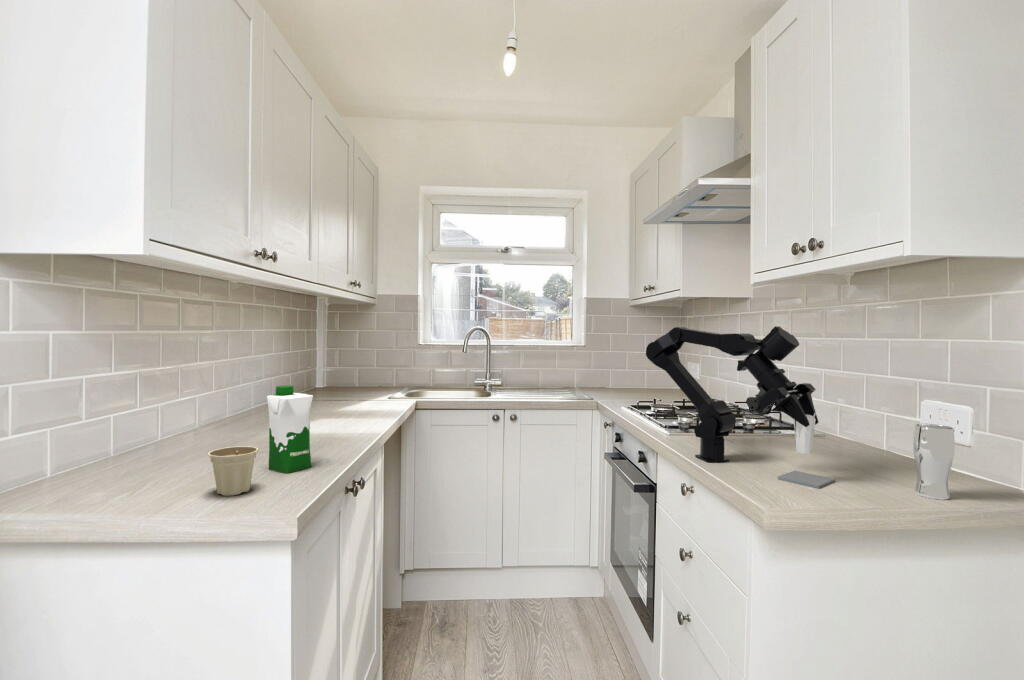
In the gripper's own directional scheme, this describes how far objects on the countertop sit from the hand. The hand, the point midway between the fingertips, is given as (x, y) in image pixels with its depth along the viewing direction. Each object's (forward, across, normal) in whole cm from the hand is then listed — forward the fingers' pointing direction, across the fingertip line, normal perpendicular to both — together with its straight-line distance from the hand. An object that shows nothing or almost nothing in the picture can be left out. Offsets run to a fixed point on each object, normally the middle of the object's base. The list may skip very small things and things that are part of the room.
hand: (812, 424), depth 124 cm
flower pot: (-40, +108, -60) cm, 130 cm away
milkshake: (+4, 0, -6) cm, 7 cm away
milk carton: (-48, +93, -68) cm, 125 cm away
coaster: (+9, 0, -10) cm, 13 cm away
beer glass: (+24, -11, +5) cm, 27 cm away
